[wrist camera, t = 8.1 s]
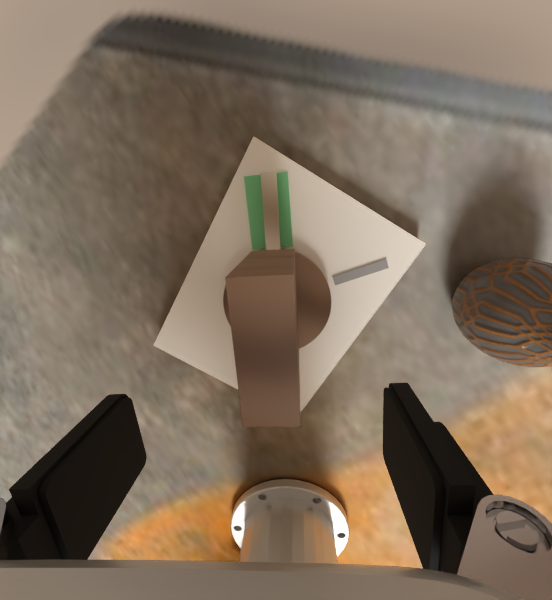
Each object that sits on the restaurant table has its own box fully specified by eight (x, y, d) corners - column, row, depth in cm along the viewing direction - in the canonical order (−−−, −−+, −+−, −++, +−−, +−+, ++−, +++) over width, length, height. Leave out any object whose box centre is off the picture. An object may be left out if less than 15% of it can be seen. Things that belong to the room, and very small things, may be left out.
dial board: (295, 408, 27) (295, 420, 26) (161, 337, 26) (152, 346, 24) (417, 241, 22) (427, 244, 20) (256, 141, 20) (253, 135, 19)
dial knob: (330, 346, 23) (350, 426, 15) (231, 349, 24) (196, 427, 15) (329, 168, 19) (355, 138, 11) (210, 177, 20) (147, 156, 11)
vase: (424, 277, 23) (499, 318, 14) (516, 234, 21) (657, 252, 13) (454, 348, 24) (537, 421, 16) (541, 312, 23) (681, 372, 15)
